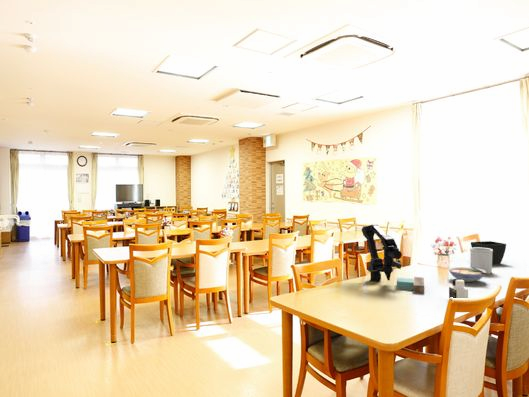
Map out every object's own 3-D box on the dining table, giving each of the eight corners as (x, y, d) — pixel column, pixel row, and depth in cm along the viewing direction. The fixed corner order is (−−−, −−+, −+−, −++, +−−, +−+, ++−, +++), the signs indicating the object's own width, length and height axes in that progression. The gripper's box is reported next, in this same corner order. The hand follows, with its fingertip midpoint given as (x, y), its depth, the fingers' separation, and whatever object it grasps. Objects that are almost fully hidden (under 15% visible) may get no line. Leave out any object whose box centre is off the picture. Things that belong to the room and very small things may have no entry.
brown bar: (413, 293, 226) (413, 285, 226) (414, 284, 246) (414, 277, 246) (424, 294, 224) (424, 285, 224) (423, 285, 244) (423, 277, 244)
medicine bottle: (448, 298, 213) (448, 278, 212) (460, 298, 213) (460, 277, 213) (456, 302, 206) (456, 281, 205) (468, 301, 206) (468, 280, 206)
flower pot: (470, 261, 316) (469, 241, 315) (490, 260, 318) (490, 240, 317) (485, 265, 297) (485, 244, 296) (507, 264, 299) (507, 244, 298)
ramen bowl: (443, 276, 265) (443, 264, 265) (478, 277, 261) (478, 265, 260) (454, 285, 241) (454, 272, 241) (492, 286, 236) (492, 273, 236)
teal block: (396, 289, 235) (396, 281, 235) (397, 285, 245) (397, 277, 245) (413, 290, 232) (413, 282, 232) (413, 286, 241) (413, 278, 241)
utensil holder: (496, 272, 274) (496, 248, 273) (487, 275, 265) (486, 251, 265) (476, 268, 286) (476, 246, 285) (466, 271, 278) (466, 248, 277)
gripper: (400, 260, 230) (400, 284, 231) (402, 254, 247) (402, 277, 248) (381, 258, 235) (382, 283, 235) (385, 253, 252) (385, 276, 252)
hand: (388, 280), depth 242 cm, fingers closed
